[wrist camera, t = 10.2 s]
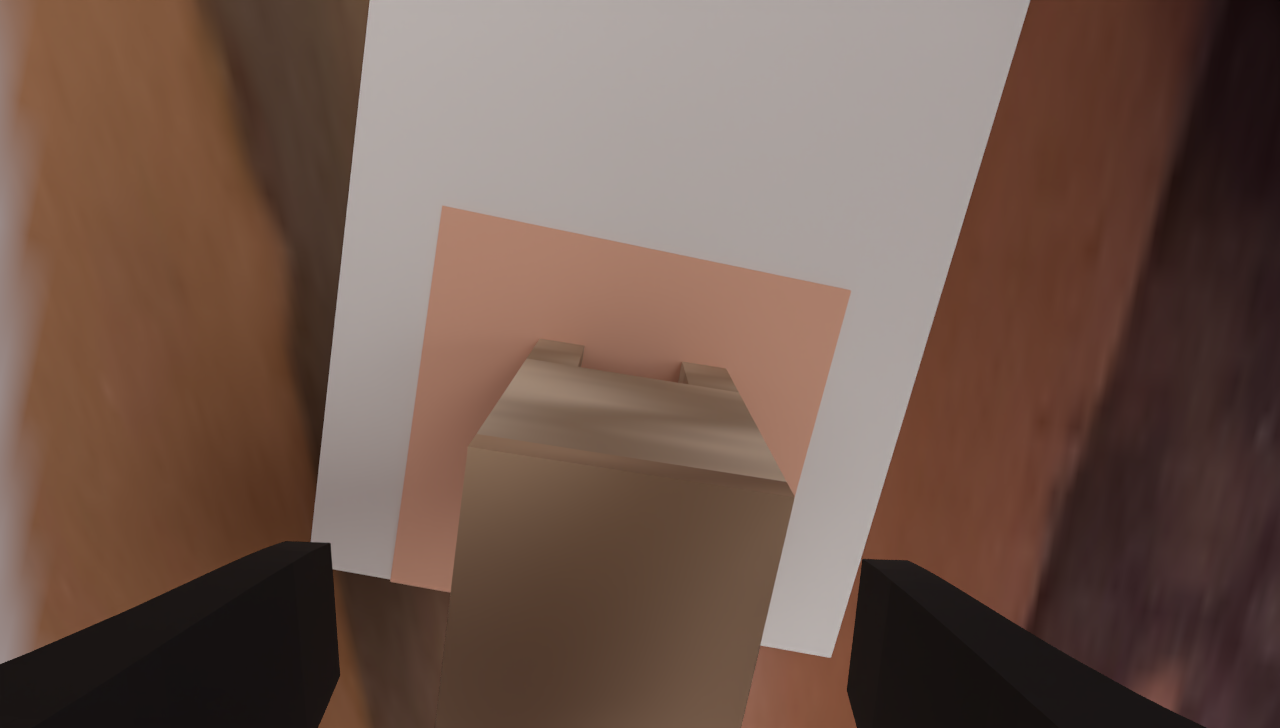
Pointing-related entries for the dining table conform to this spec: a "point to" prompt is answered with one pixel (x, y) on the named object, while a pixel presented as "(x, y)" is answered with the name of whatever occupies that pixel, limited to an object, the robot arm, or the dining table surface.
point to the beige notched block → (611, 552)
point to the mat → (651, 243)
